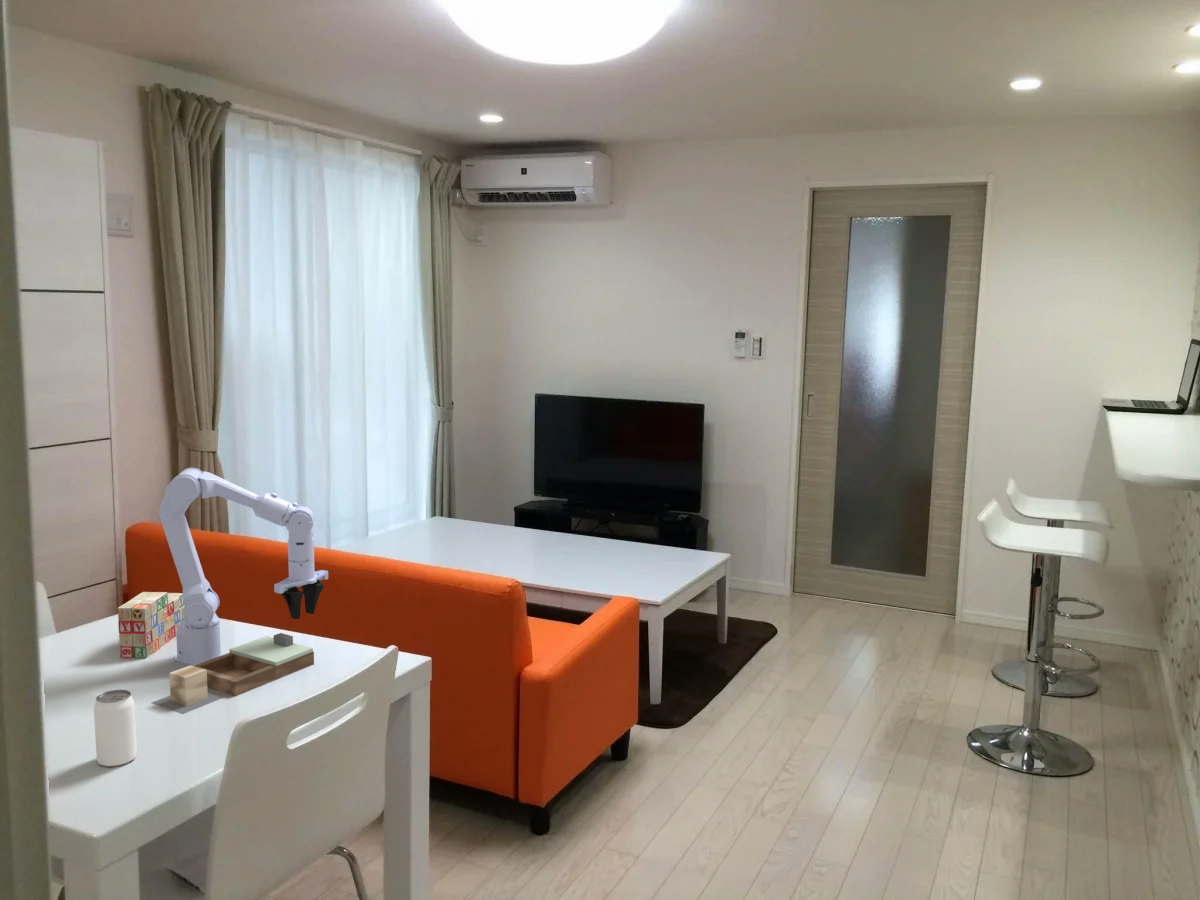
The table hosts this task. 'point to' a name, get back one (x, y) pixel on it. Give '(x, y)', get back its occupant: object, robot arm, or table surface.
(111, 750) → the can
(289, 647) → the lid
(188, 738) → the table surface
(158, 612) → the stack of blocks
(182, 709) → the mat
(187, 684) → the block
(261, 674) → the brown wooden shallow box
